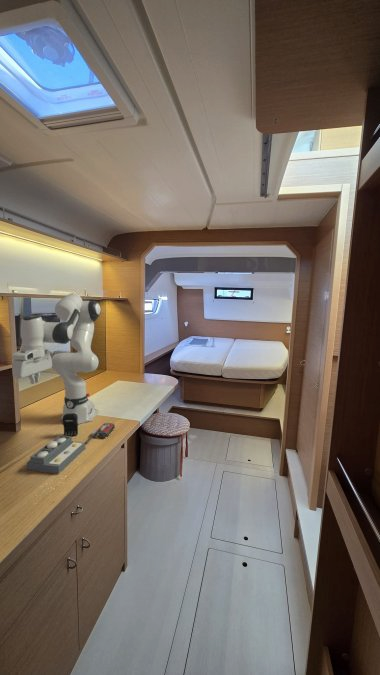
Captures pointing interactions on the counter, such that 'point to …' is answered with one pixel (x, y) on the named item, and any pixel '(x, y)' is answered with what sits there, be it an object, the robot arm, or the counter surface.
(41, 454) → the button
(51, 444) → the middle button
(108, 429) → the walkie-talkie
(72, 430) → the battery charger
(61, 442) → the button
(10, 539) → the counter surface
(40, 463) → the pattern board
